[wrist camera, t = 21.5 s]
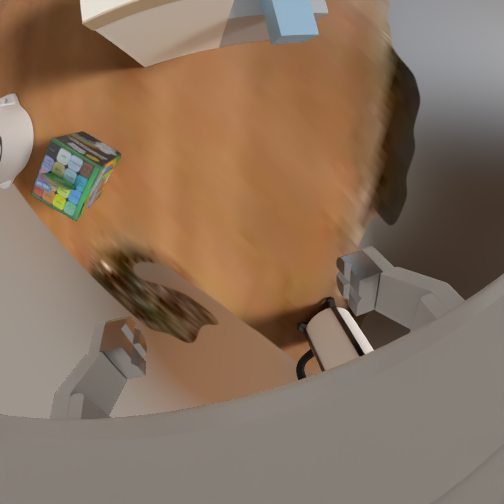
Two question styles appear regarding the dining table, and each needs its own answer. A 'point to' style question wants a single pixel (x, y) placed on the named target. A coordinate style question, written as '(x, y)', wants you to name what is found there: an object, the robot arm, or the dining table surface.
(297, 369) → the coffee press
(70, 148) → the chalk box
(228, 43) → the block
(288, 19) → the blue square bar
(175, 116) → the dining table surface
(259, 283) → the dining table surface
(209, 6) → the carton
